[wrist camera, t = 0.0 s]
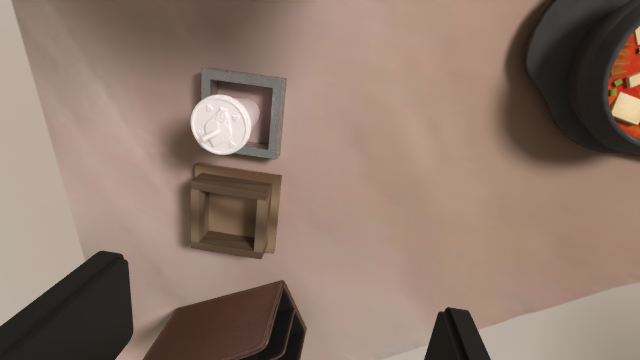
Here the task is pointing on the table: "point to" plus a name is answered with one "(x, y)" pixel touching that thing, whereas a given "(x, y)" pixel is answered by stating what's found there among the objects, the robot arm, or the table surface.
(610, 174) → the table surface
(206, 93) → the holder
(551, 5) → the casserole
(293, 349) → the letter holder
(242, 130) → the smoothie
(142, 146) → the table surface
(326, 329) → the table surface
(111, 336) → the robot arm
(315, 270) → the table surface
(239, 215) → the socket
